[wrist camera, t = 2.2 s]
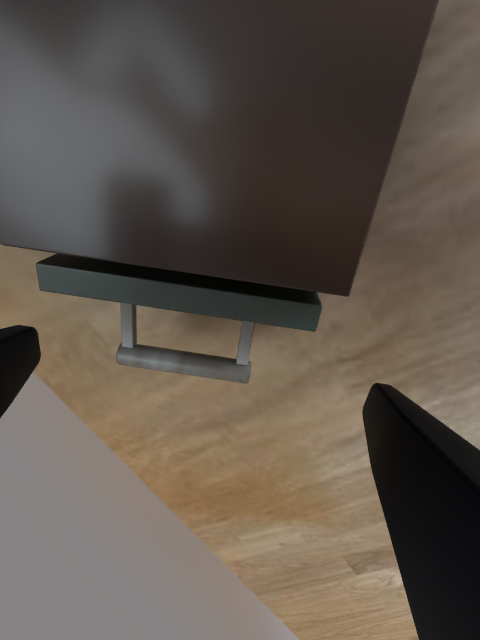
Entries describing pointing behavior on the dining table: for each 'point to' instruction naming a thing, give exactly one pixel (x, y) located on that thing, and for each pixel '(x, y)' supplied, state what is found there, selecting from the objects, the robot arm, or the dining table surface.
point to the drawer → (180, 308)
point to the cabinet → (204, 131)
